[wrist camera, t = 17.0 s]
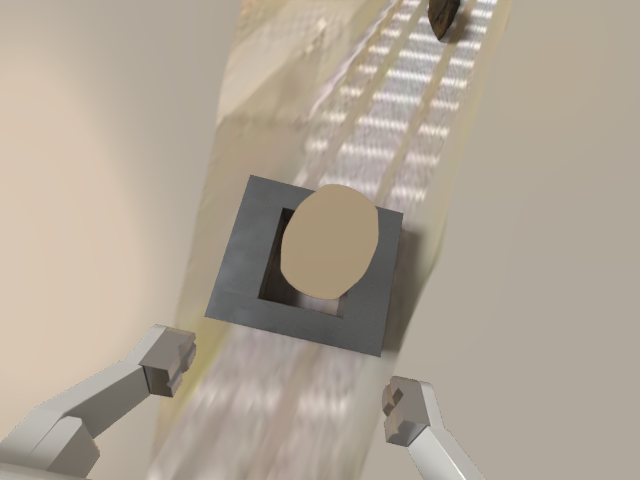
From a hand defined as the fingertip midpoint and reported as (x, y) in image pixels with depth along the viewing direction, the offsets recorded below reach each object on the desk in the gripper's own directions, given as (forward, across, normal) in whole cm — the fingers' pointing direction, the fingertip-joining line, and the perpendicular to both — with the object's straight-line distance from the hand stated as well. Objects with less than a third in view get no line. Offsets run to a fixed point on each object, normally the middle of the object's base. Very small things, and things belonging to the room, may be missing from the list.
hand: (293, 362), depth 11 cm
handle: (+16, 0, +8) cm, 18 cm away
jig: (+16, 0, +8) cm, 18 cm away
